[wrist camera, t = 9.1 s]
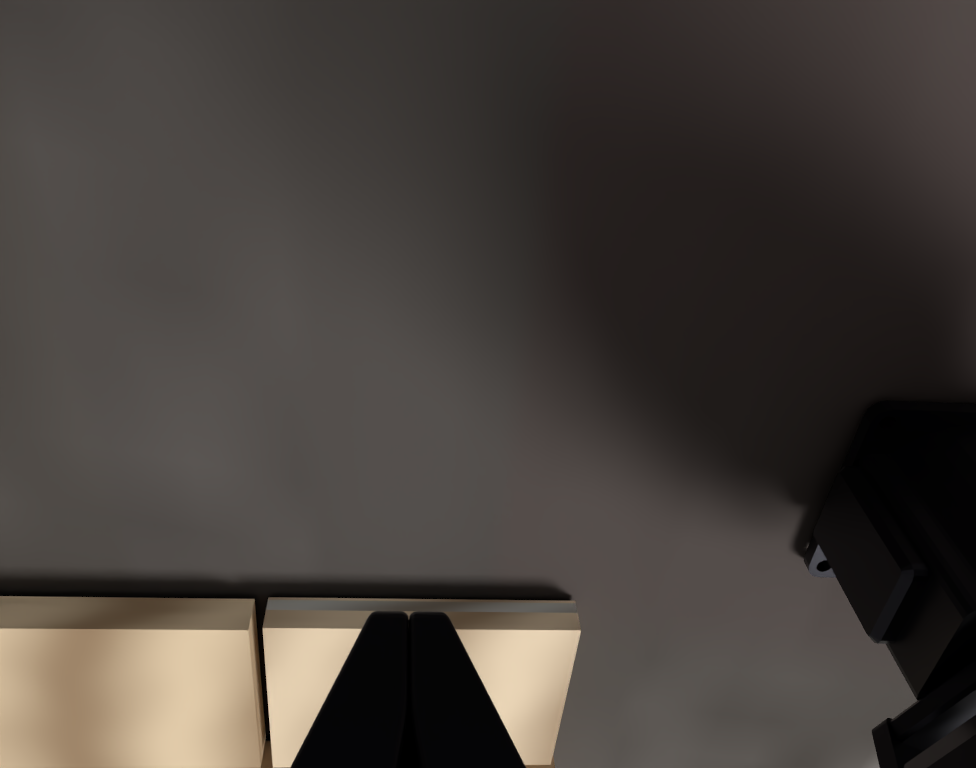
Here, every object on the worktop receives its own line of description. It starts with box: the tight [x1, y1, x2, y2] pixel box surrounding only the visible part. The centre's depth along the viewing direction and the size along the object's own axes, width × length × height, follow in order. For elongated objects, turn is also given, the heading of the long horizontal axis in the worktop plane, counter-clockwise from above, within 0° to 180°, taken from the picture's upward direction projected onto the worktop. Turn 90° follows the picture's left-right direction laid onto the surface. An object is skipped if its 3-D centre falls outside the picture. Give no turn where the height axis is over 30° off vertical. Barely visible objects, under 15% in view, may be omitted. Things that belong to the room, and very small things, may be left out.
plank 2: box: [263, 597, 581, 768], centre depth 28 cm, size 10×7×1 cm
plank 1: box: [0, 596, 266, 768], centre depth 27 cm, size 10×7×1 cm
